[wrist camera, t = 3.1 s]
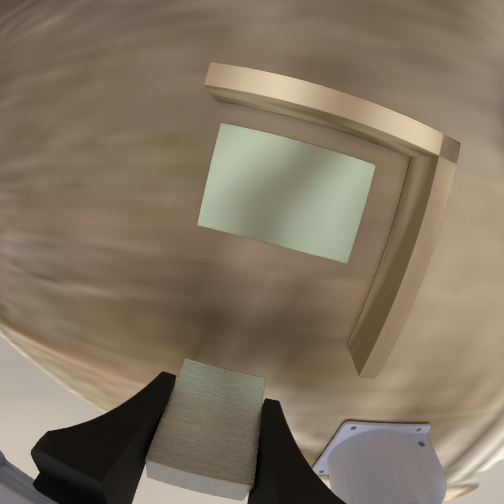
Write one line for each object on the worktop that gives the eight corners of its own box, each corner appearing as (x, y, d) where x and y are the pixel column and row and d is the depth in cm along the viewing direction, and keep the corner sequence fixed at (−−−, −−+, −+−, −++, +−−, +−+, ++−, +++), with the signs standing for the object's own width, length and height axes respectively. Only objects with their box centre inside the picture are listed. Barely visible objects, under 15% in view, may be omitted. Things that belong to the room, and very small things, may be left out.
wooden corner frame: (430, 146, 15) (460, 143, 12) (362, 347, 19) (376, 378, 16) (222, 82, 15) (210, 62, 12) (174, 303, 19) (156, 329, 16)
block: (185, 358, 14) (145, 458, 8) (264, 378, 14) (253, 485, 8) (176, 429, 17) (151, 505, 11) (236, 444, 17) (223, 523, 11)
